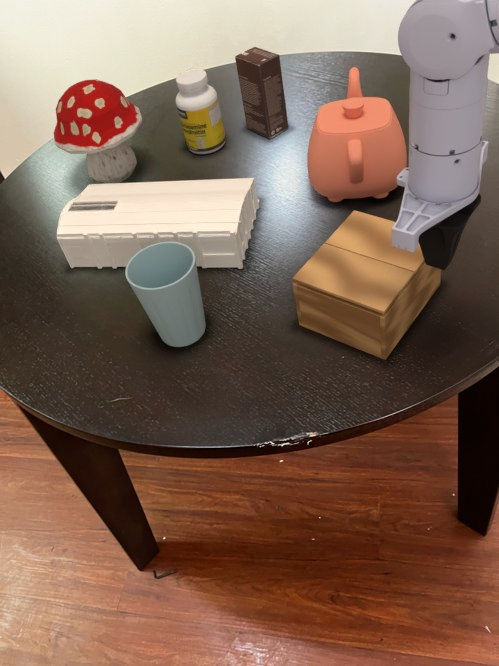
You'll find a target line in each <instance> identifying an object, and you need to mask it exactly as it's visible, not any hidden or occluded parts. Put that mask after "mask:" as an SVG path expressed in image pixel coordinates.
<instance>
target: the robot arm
mask: <svg viewBox="0 0 499 666" xmlns="http://www.w3.org/2000/svg"><path fill="white" fill-rule="evenodd" d="M397 31H398V32H397V45H398V48H399V53H400V55H401V57H402V59H403V60H404V62H405V64H406V65H407V66H408V67H409V89H408V91H409V92H408V93H409V98H408V99H409V101H408V103H409V105H408V106H409V107H408V108H409V109H408V111H409V112H408V167H406V168H405V169H403V170H402V171H401V172H400V174H399V175H398V176H397V185H398V187H399V186H400V187H402V188H404V191H403V196H402V199H401V204H400V208H399V213H398V216H397V218H396V219H397V220H396V221H395V222H396V223H395V224H394V226H393V227H392V246H394V247H397V248H399V249H402V250H407V251H410V252H414V251H415V250H416V249H417V247H418V242H419V245H420V248H421V251H422V254H423V258H424V261H425V264H426V265H429V266H432V267H435V268H438V269H441V271H445V270H446V269H447V268H448V267H449V265H450V264H451V263H452V261H453V259H454V257H455V254H456V251H457V249H458V247H459V243H460V240H461V238H462V234H463V233H464V230H465V227H466V225H467V224H468V222H469V219H470V218H471V216H472V215H473V213H474V212H475V211H476V210H477V208H478V206H479V205H480V204H481V202H482V195H481V194H480V189H481V182H482V181H481V180H482V171H483V165H484V164H485V163H486V161H487V160H488V152H489V151H488V150H489V144H490V143H489V141H488V140H483V137H484V134H483V133H484V127H485V126H484V125H485V117H486V108H487V107H486V106H487V96H488V90H489V89H488V87H489V77H488V74H489V73H488V72H489V64H490V55H492V54H493V55H494V54H499V0H415V1H414V2H413V3H412V4H411V5H410V7H409V8H408V9H407V10H406V12H405V14H404V15H403V18H402V19H401V21H400V23H399V27H398V30H397Z"/></svg>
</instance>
